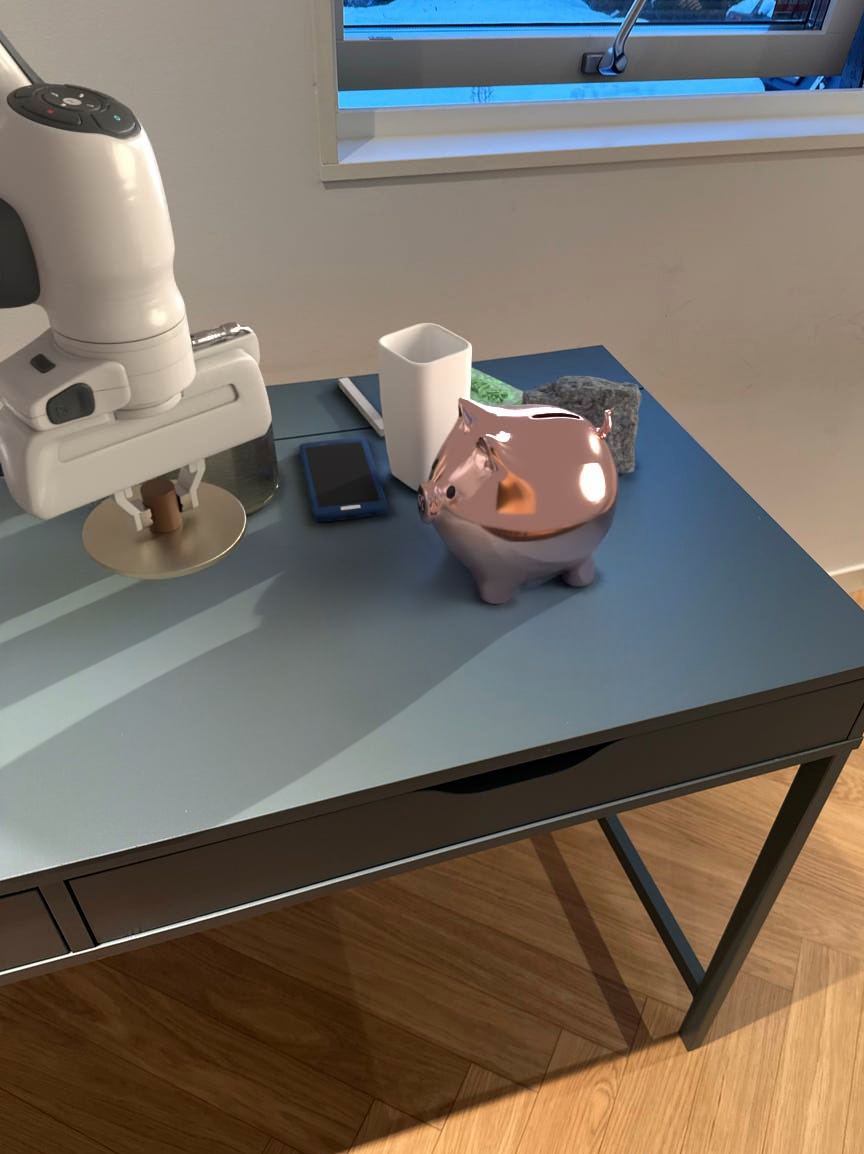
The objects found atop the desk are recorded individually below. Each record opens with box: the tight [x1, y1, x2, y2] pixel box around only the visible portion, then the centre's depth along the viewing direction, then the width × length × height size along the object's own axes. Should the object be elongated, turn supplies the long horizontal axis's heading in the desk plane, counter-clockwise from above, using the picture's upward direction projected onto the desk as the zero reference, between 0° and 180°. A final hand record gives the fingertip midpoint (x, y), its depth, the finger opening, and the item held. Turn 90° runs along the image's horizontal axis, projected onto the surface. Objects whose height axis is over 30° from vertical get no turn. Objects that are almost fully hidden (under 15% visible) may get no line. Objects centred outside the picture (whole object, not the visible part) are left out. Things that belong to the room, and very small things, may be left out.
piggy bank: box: [416, 397, 621, 605], centre depth 82 cm, size 15×18×16 cm
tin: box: [156, 420, 280, 517], centre depth 92 cm, size 12×12×8 cm
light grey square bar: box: [338, 376, 385, 438], centre depth 107 cm, size 12×1×1 cm, turn 28°
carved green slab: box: [470, 366, 524, 406], centre depth 107 cm, size 11×12×2 cm
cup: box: [377, 322, 473, 492], centre depth 92 cm, size 7×7×15 cm
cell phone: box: [298, 436, 389, 523], centre depth 96 cm, size 7×14×1 cm, turn 15°
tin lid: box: [81, 477, 248, 580], centre depth 75 cm, size 13×13×5 cm
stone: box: [521, 375, 642, 475], centre depth 97 cm, size 12×8×10 cm, turn 103°
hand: (163, 516), depth 75 cm, fingers closed on tin lid, 2 cm apart
